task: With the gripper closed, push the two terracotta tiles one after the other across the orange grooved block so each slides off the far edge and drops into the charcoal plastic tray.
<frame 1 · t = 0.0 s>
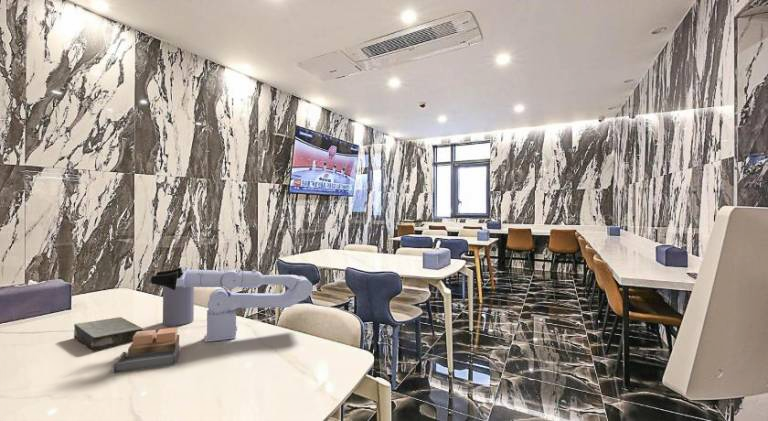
hand: (153, 277, 113), 22 cm above the table, tool horizontal, fingers open, 7 cm apart
container: (178, 322, 136), on the table
tile a: (167, 338, 111), point 3 cm above the table, touching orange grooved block
tile b: (144, 341, 108), point 3 cm above the table, touching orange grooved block
stone block: (108, 340, 118), on the table
tray: (148, 362, 100), on the table
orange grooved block: (155, 351, 108), on the table
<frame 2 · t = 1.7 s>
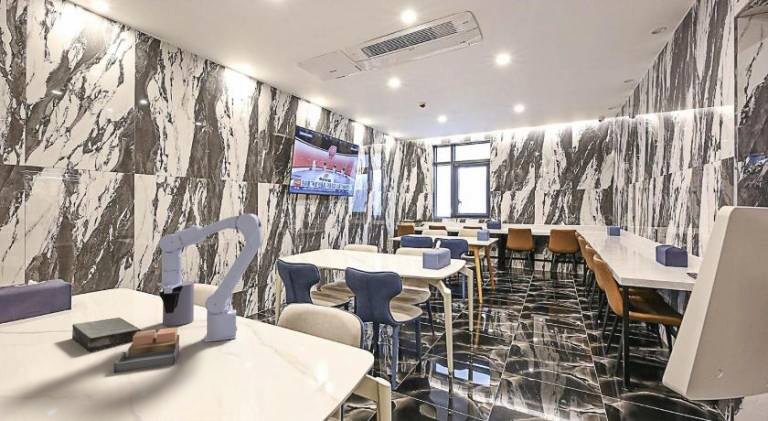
hand: (171, 310, 118), 10 cm above the table, tool pointing down, fingers open, 6 cm apart
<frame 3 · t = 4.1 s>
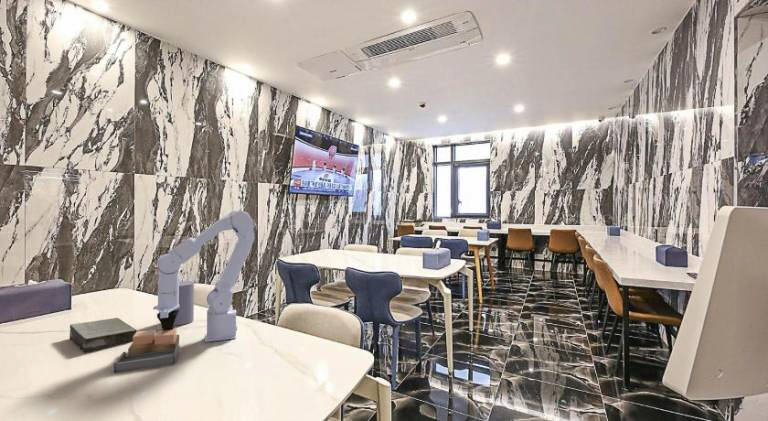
hand: (168, 334, 112), 4 cm above the table, tool pointing down, fingers closed
tile a: (165, 340, 109), point 3 cm above the table, touching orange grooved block, gripper
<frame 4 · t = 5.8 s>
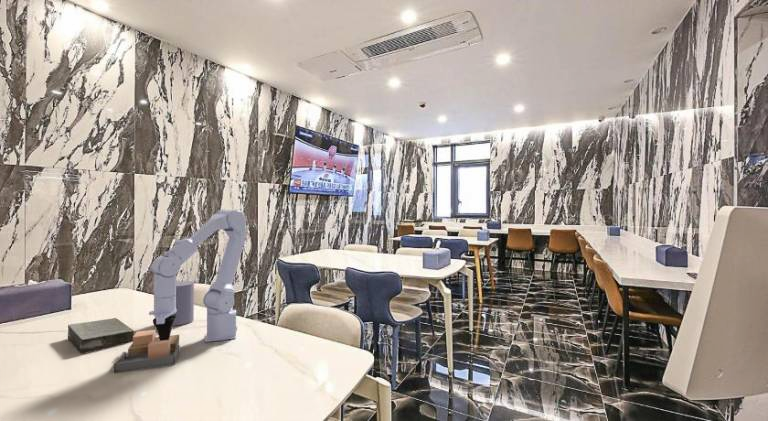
hand: (164, 340, 107), 4 cm above the table, tool pointing down, fingers closed
tile a: (160, 349, 102), point 3 cm above the table, tilted 90°, touching tray
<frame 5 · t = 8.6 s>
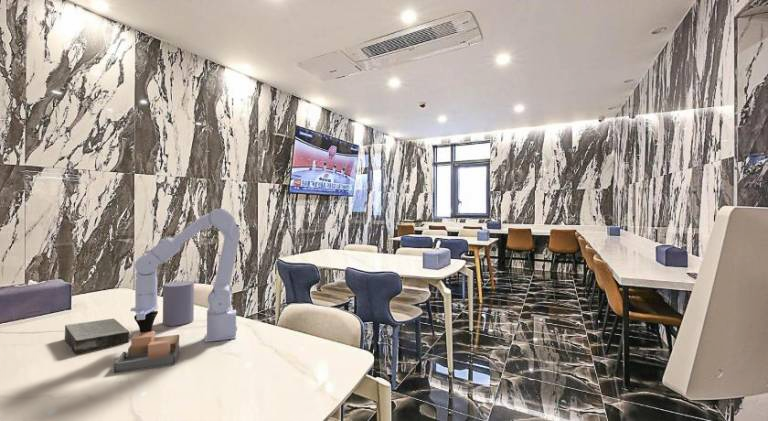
hand: (146, 336, 110), 4 cm above the table, tool pointing down, fingers closed
tile b: (143, 343, 107), point 3 cm above the table, touching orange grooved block, gripper
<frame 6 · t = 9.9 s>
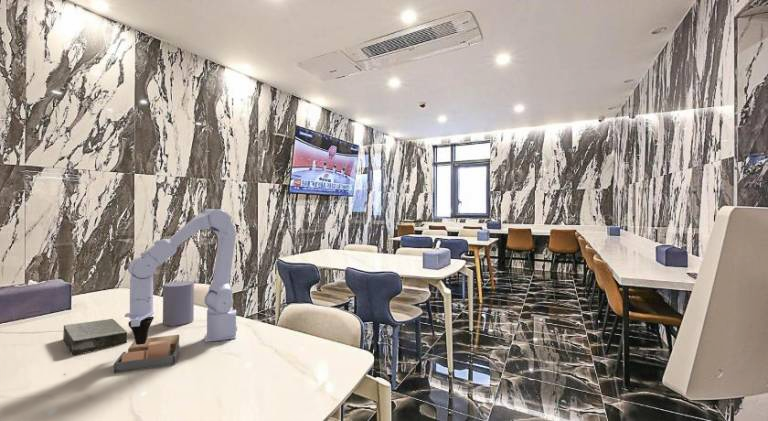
hand: (141, 343, 104), 4 cm above the table, tool pointing down, fingers closed
tile b: (135, 351, 99), point 4 cm above the table, tilted 163°, touching tray
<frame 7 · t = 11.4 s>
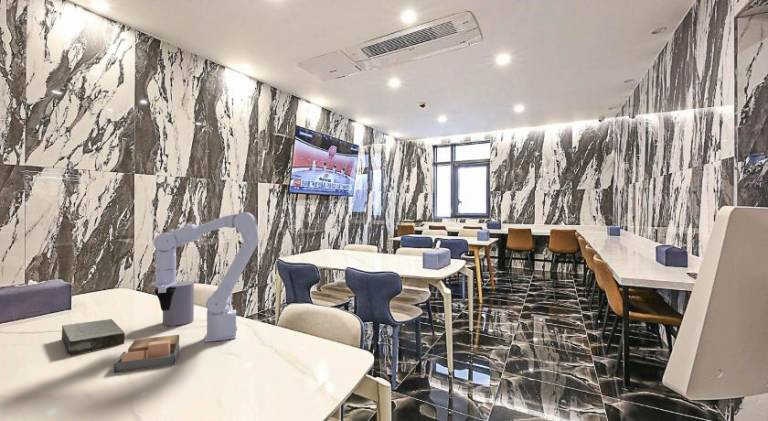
hand: (165, 310, 116), 10 cm above the table, tool pointing down, fingers closed
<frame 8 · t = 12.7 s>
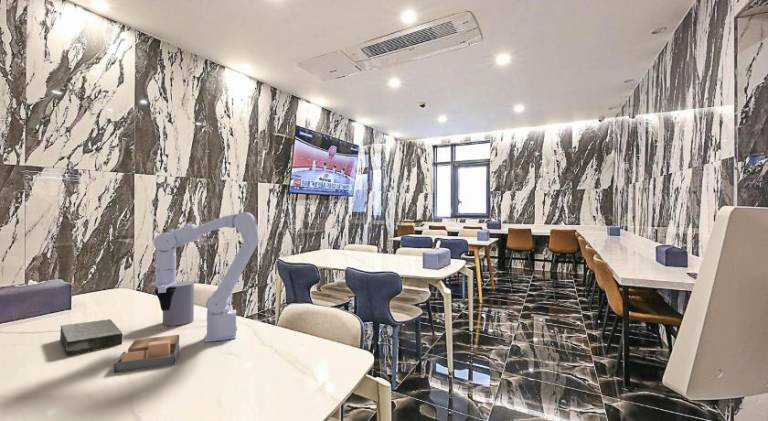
hand: (165, 310, 116), 10 cm above the table, tool pointing down, fingers closed
at the end: tile a inside the target area on the tray (2.8 cm from its centre), point 3.0 cm above the tray's base; tile b inside the target area on the tray (3.1 cm from its centre), point 3.6 cm above the tray's base; tile a touching tray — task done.
